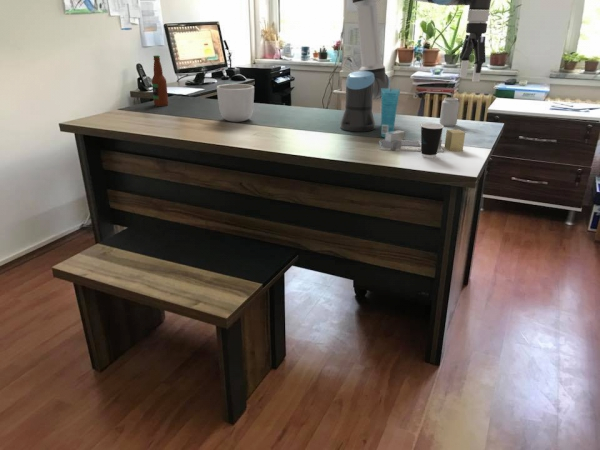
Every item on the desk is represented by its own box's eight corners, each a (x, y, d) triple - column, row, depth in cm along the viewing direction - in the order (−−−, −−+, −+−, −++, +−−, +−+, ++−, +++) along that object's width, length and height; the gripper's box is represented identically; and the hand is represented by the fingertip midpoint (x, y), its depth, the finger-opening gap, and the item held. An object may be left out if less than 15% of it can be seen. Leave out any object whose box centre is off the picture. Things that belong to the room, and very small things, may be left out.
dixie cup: (413, 156, 177) (416, 125, 173) (424, 151, 183) (427, 122, 178) (433, 160, 172) (437, 128, 168) (443, 155, 178) (447, 125, 174)
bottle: (157, 103, 267) (152, 54, 257) (170, 104, 266) (165, 55, 256) (152, 106, 260) (146, 56, 250) (165, 106, 260) (160, 56, 250)
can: (457, 127, 222) (460, 100, 217) (439, 126, 223) (443, 99, 219) (455, 123, 229) (459, 97, 224) (438, 122, 230) (442, 96, 225)
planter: (247, 115, 241) (246, 83, 235) (260, 122, 227) (259, 88, 221) (213, 118, 234) (212, 84, 228) (224, 125, 220) (223, 90, 214)
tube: (395, 135, 206) (399, 88, 198) (396, 138, 201) (400, 89, 194) (377, 134, 207) (380, 87, 199) (377, 137, 202) (381, 89, 195)
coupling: (449, 151, 184) (452, 132, 181) (444, 148, 188) (446, 129, 186) (462, 151, 185) (465, 132, 182) (456, 147, 189) (459, 129, 186)
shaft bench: (380, 150, 184) (381, 134, 181) (378, 141, 196) (380, 126, 194) (443, 152, 182) (445, 136, 179) (438, 143, 194) (440, 128, 192)
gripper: (500, 23, 180) (491, 83, 188) (474, 21, 202) (466, 75, 211) (480, 23, 179) (471, 83, 188) (456, 21, 202) (449, 75, 210)
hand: (469, 79), depth 199 cm, fingers open, 13 cm apart
